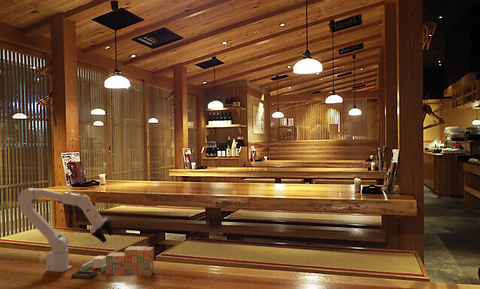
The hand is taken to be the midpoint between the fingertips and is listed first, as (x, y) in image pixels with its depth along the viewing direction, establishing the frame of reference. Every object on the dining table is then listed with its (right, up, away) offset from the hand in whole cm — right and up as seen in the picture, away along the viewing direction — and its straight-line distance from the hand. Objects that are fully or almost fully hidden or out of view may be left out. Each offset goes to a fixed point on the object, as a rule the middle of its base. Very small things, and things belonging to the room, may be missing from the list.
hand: (108, 238), depth 195 cm
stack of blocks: (+15, -14, -14) cm, 25 cm away
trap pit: (-5, -14, -17) cm, 22 cm away
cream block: (-3, -14, -3) cm, 14 cm away
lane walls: (-3, -14, -5) cm, 15 cm away
